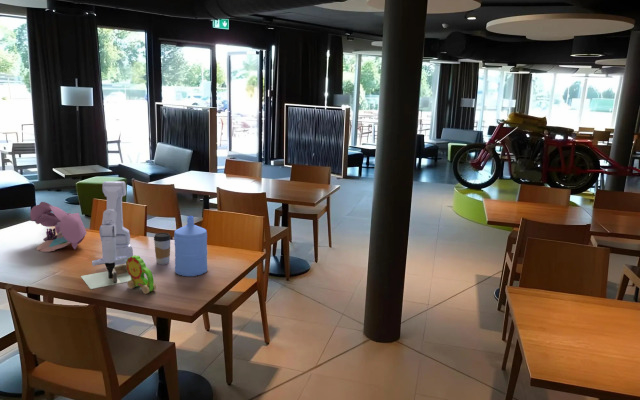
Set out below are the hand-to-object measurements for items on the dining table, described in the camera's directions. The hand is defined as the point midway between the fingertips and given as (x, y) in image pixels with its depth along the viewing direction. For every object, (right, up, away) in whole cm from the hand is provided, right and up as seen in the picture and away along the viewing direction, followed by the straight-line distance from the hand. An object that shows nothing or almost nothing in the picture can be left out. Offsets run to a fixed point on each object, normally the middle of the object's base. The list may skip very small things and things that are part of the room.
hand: (110, 277), depth 225 cm
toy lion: (+16, -4, -6) cm, 18 cm away
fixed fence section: (+2, 0, +10) cm, 10 cm away
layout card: (-1, -1, +5) cm, 5 cm away
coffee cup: (+15, +3, +27) cm, 32 cm away
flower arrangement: (-48, +10, +44) cm, 66 cm away
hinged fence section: (+1, -1, +2) cm, 2 cm away
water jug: (+33, 0, +17) cm, 37 cm away
